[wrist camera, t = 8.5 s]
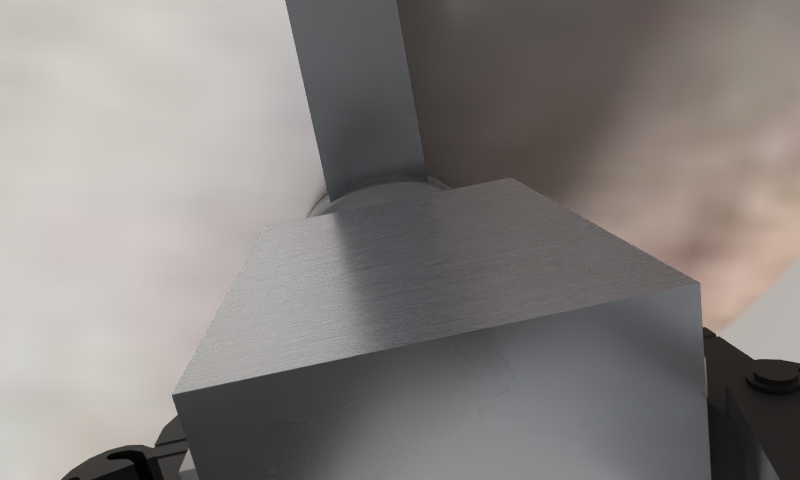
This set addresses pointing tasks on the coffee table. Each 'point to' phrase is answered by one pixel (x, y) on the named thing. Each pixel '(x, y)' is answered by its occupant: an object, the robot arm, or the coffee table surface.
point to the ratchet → (360, 102)
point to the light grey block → (450, 350)
